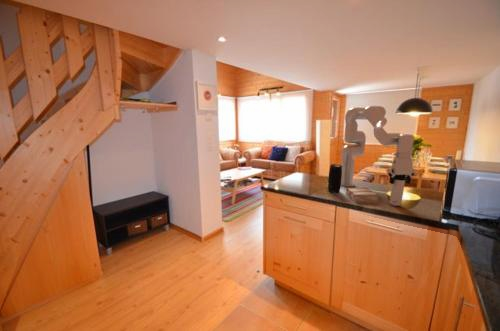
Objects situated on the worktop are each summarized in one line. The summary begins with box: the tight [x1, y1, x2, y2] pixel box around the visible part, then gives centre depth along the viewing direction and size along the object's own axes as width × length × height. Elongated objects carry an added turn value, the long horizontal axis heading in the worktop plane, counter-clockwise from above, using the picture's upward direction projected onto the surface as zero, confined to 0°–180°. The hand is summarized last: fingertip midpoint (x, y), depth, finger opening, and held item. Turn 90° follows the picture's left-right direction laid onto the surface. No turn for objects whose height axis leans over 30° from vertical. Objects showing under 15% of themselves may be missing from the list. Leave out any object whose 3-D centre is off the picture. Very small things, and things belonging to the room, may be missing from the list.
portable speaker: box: [327, 163, 342, 194], centre depth 162 cm, size 9×9×20 cm
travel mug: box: [388, 175, 407, 207], centre depth 138 cm, size 6×7×20 cm
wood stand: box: [345, 187, 379, 203], centre depth 150 cm, size 14×14×5 cm
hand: (399, 183), depth 136 cm, fingers open, 9 cm apart
